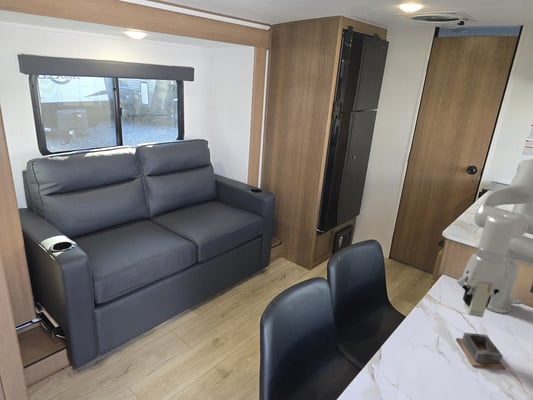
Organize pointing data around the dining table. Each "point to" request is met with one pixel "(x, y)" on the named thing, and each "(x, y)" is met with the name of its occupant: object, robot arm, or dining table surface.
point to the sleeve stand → (480, 351)
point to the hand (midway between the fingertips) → (475, 303)
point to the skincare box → (479, 299)
